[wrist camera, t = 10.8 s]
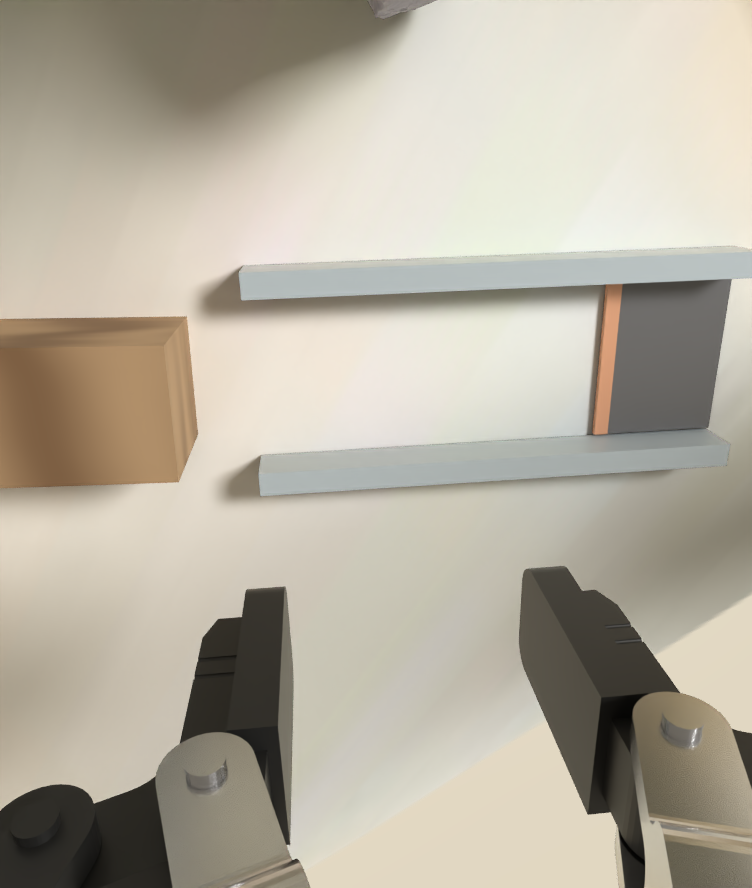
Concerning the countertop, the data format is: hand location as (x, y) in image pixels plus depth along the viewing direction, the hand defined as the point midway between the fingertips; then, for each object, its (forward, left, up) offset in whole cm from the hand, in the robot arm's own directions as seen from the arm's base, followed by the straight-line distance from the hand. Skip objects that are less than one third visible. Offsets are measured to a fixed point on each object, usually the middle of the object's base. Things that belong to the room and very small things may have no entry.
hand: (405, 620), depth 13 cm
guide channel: (-6, 0, -17) cm, 18 cm away
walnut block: (+11, 0, -18) cm, 20 cm away
